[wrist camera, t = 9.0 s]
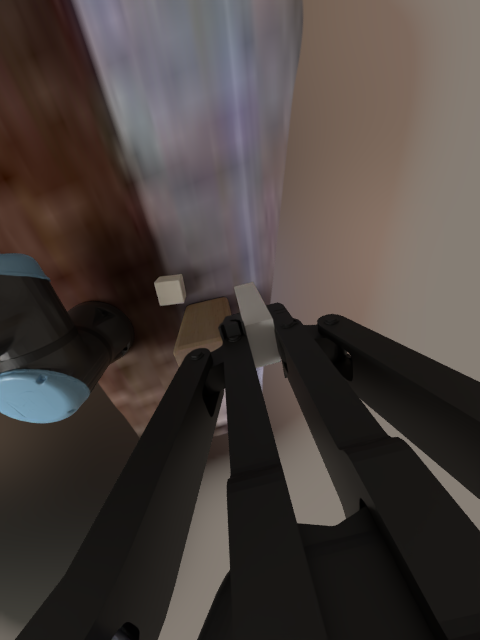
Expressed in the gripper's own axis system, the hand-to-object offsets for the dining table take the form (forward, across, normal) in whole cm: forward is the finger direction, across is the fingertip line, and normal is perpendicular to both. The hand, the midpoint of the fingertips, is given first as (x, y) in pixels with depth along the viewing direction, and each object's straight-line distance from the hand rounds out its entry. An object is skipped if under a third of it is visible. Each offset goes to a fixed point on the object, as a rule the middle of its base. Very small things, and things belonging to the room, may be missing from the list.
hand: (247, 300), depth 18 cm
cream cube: (+35, -14, -6) cm, 38 cm away
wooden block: (+35, -8, -16) cm, 39 cm away
